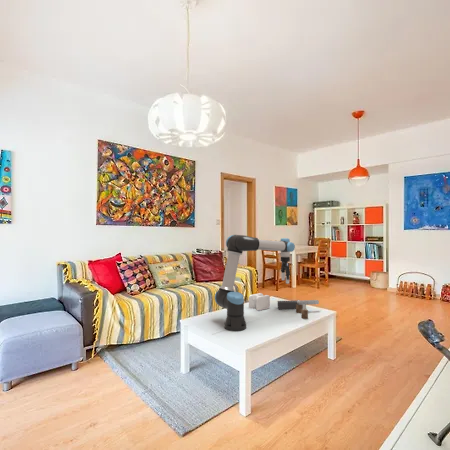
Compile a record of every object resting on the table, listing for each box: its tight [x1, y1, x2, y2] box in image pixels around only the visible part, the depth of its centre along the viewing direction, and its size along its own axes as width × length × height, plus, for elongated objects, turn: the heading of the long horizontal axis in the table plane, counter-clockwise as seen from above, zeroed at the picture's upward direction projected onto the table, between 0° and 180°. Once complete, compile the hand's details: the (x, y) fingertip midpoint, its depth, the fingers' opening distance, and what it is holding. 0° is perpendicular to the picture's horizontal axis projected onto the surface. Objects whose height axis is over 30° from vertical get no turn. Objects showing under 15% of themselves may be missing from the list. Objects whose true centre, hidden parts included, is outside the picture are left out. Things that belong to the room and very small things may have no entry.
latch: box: [296, 299, 320, 306], centre depth 230 cm, size 3×18×3 cm, turn 94°
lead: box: [277, 300, 307, 311], centre depth 240 cm, size 23×5×6 cm, turn 93°
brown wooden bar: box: [295, 304, 309, 320], centre depth 222 cm, size 4×17×6 cm, turn 3°
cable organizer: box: [248, 292, 271, 311], centre depth 241 cm, size 15×11×12 cm
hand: (285, 281), depth 240 cm, fingers open, 13 cm apart
